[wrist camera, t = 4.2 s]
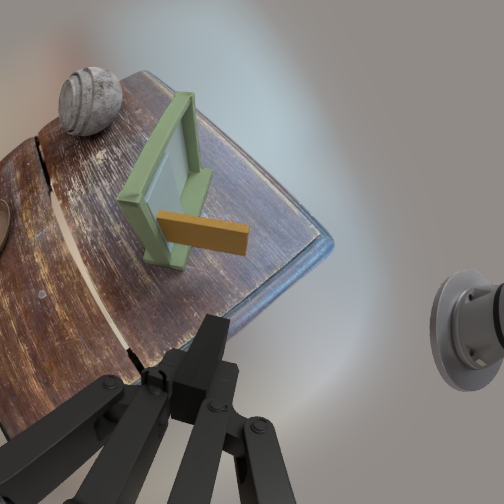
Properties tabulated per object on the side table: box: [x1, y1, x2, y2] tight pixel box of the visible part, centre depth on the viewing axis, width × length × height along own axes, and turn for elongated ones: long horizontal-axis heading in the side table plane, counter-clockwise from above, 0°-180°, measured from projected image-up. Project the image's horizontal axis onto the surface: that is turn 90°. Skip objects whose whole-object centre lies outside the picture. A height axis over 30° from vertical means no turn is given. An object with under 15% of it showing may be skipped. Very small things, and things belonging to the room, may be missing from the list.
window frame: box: [116, 91, 213, 271], centre depth 34 cm, size 6×17×16 cm, turn 170°
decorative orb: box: [59, 67, 122, 136], centre depth 42 cm, size 15×14×15 cm
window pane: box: [144, 153, 250, 256], centre depth 32 cm, size 11×7×13 cm, turn 80°
